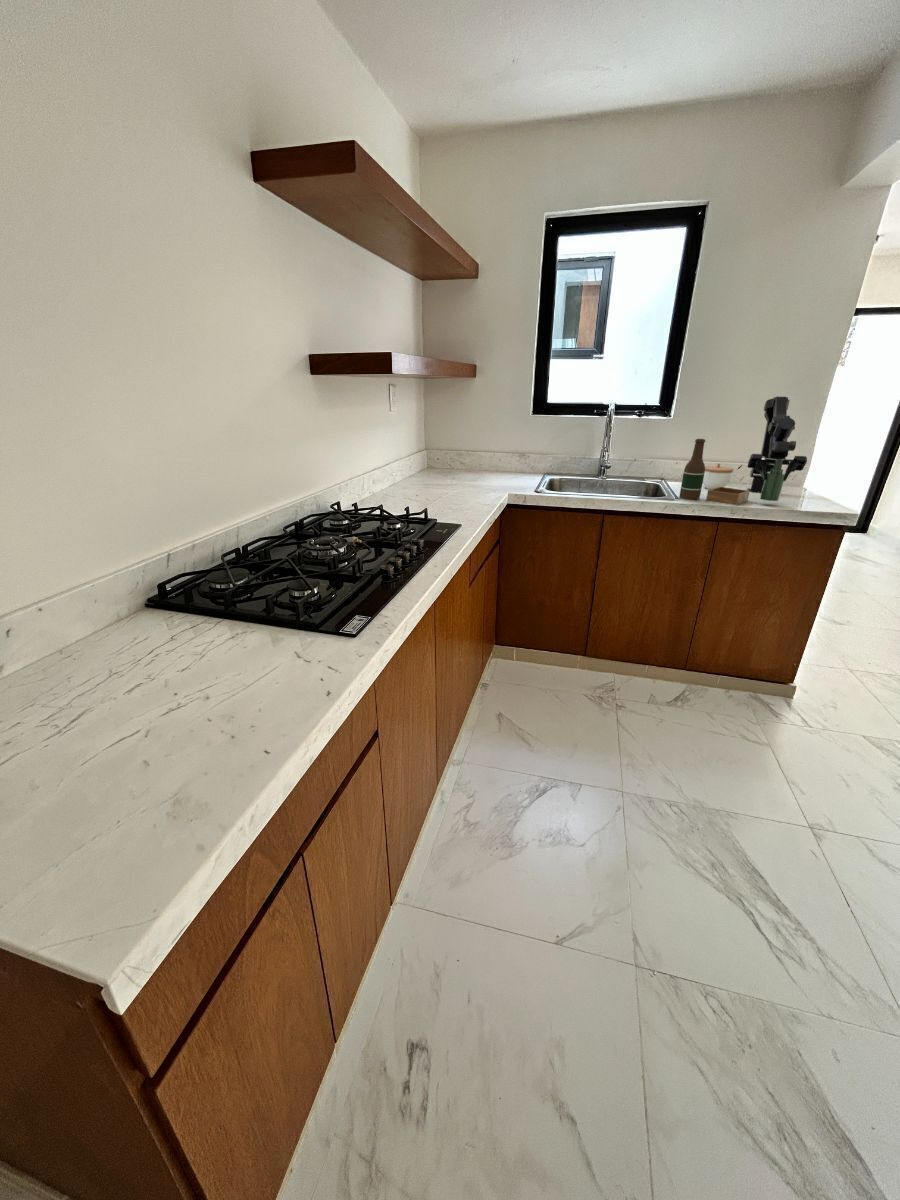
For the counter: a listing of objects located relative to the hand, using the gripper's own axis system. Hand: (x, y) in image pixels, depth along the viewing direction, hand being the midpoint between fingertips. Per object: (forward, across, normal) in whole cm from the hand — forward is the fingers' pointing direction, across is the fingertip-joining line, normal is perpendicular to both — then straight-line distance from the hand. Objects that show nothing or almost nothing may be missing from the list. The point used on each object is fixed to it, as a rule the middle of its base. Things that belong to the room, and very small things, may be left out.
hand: (774, 480), depth 191 cm
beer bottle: (+6, -28, +9) cm, 30 cm away
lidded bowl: (-17, -18, +32) cm, 41 cm away
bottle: (+4, 0, +6) cm, 8 cm away
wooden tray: (+4, -14, +10) cm, 18 cm away
